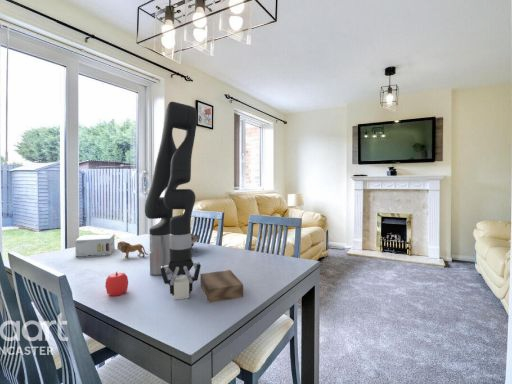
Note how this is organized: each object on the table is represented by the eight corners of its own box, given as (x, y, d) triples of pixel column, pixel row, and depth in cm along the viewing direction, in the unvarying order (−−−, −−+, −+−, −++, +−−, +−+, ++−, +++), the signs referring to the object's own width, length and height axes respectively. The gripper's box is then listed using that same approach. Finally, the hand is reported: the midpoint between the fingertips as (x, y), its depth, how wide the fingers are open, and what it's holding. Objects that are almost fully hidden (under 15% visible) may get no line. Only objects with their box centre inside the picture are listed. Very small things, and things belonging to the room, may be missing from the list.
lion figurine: (117, 260, 141) (116, 242, 141) (117, 257, 146) (117, 240, 146) (148, 256, 147) (147, 240, 147) (147, 254, 152) (147, 238, 152)
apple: (110, 300, 95) (109, 277, 95) (101, 294, 100) (100, 272, 100) (133, 292, 101) (132, 271, 101) (123, 287, 106) (122, 266, 106)
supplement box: (75, 257, 146) (74, 240, 146) (82, 251, 159) (81, 235, 158) (110, 254, 152) (110, 238, 151) (114, 249, 164) (114, 233, 164)
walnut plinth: (209, 304, 93) (208, 289, 93) (200, 286, 108) (200, 273, 107) (243, 298, 97) (243, 284, 97) (230, 282, 112) (230, 270, 112)
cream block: (174, 300, 95) (173, 282, 95) (173, 294, 100) (173, 277, 99) (189, 298, 96) (188, 281, 96) (188, 292, 101) (187, 276, 101)
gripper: (158, 250, 91) (159, 300, 92) (202, 246, 96) (203, 295, 97) (159, 245, 98) (160, 292, 99) (200, 242, 103) (200, 287, 104)
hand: (181, 293), depth 98 cm, fingers closed on cream block, 5 cm apart
